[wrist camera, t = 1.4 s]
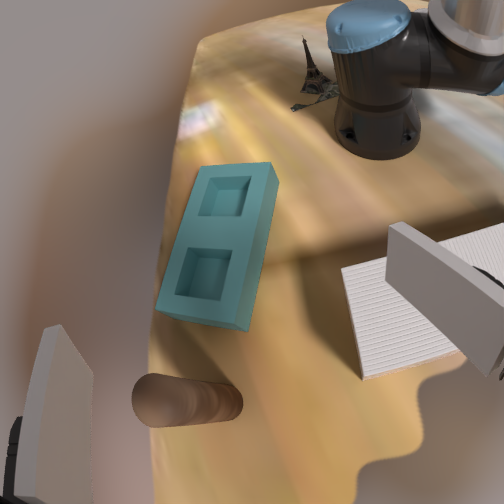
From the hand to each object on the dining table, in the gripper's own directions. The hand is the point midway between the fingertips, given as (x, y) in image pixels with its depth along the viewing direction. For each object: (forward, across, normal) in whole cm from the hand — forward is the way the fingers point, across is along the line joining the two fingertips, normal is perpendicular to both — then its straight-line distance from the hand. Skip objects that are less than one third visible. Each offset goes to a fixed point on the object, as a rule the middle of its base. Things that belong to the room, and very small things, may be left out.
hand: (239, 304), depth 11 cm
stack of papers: (+8, +29, -20) cm, 36 cm away
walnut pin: (+16, -3, -28) cm, 32 cm away
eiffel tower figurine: (+52, +32, +4) cm, 61 cm away
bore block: (+33, +4, -16) cm, 37 cm away
